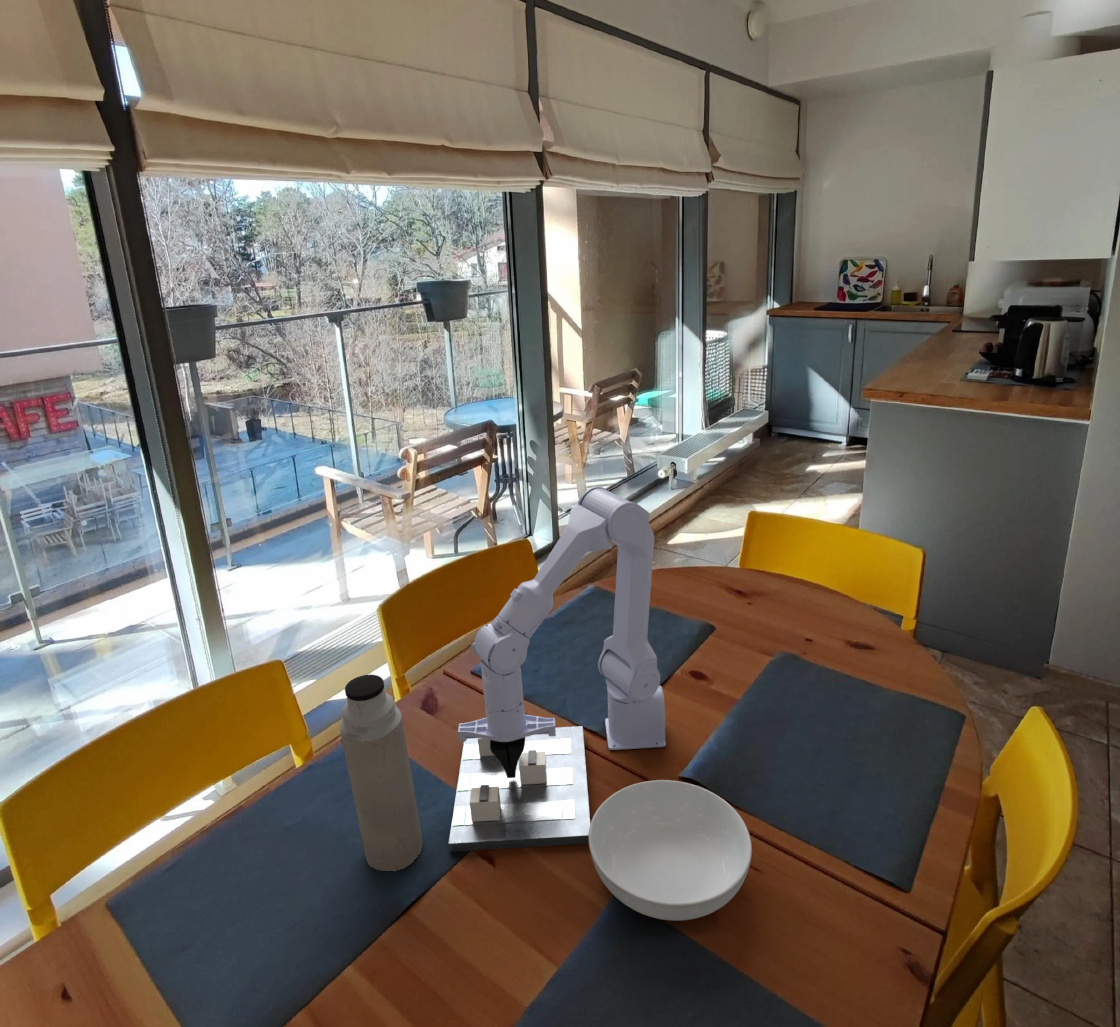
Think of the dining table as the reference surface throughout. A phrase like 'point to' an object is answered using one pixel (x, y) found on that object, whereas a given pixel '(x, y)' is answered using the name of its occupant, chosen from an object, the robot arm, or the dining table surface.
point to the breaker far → (484, 747)
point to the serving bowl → (670, 849)
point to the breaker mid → (533, 767)
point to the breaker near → (485, 803)
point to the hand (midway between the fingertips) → (511, 773)
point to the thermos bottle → (380, 775)
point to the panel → (526, 797)
